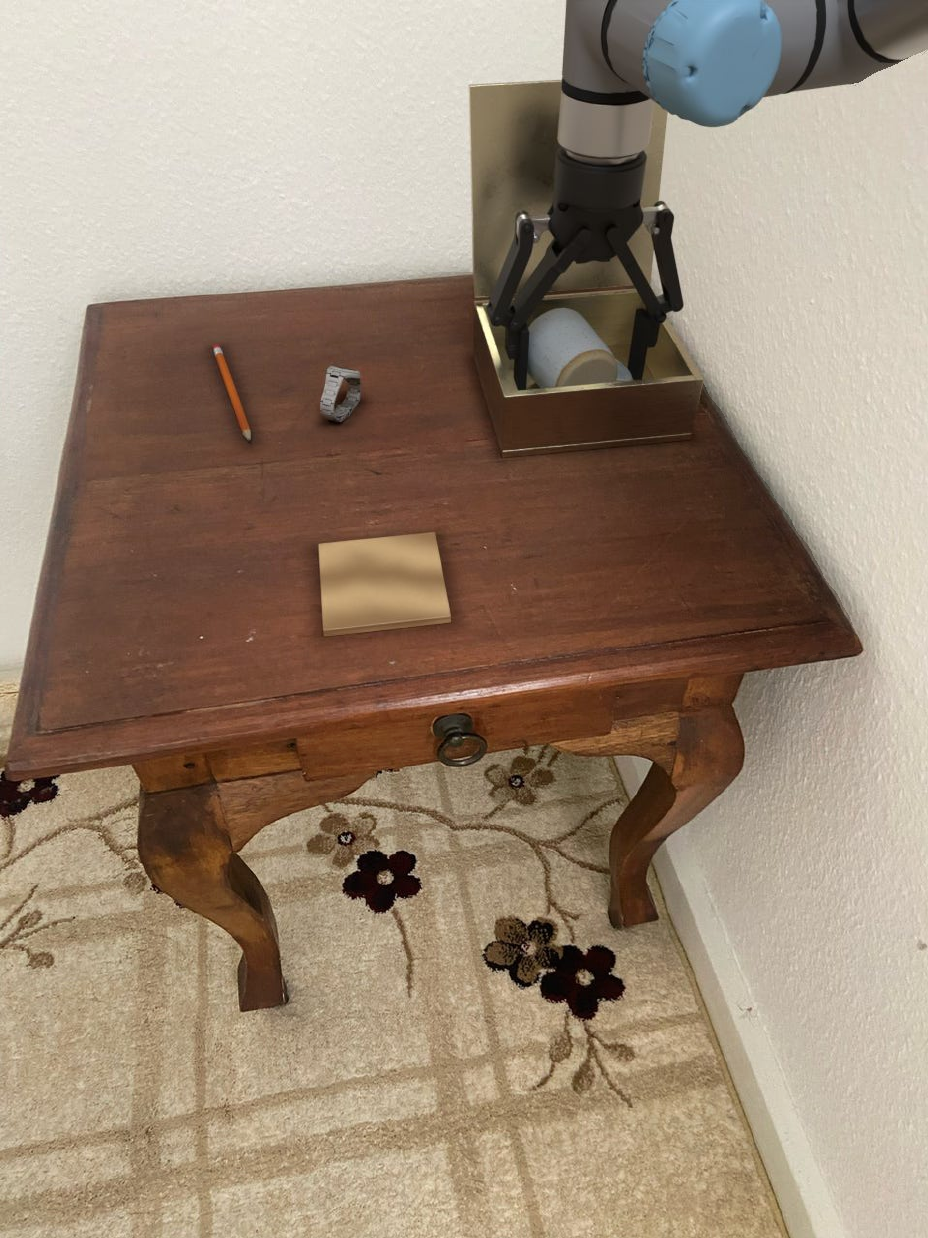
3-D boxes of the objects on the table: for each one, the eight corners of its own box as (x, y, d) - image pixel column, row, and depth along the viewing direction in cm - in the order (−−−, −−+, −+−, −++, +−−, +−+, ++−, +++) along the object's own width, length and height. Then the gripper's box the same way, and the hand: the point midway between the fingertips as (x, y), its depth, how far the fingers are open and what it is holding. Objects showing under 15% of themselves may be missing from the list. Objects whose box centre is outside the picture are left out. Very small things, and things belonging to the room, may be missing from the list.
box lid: (671, 74, 79) (653, 68, 83) (469, 85, 78) (461, 78, 82) (650, 284, 91) (636, 269, 95) (474, 297, 89) (467, 282, 93)
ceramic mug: (553, 425, 85) (560, 354, 79) (515, 382, 90) (520, 313, 84) (645, 401, 88) (659, 331, 82) (604, 361, 93) (614, 292, 87)
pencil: (221, 350, 96) (219, 343, 96) (256, 446, 85) (254, 438, 84) (213, 351, 96) (211, 344, 96) (247, 448, 84) (245, 440, 84)
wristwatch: (370, 400, 90) (366, 356, 86) (343, 433, 86) (337, 389, 82) (340, 393, 90) (335, 349, 87) (311, 425, 87) (304, 381, 83)
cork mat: (451, 622, 69) (451, 616, 68) (324, 637, 68) (322, 630, 67) (435, 538, 75) (435, 531, 75) (319, 550, 74) (318, 543, 74)
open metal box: (690, 440, 85) (704, 378, 80) (502, 458, 83) (504, 396, 78) (639, 345, 96) (648, 287, 91) (473, 359, 95) (473, 300, 90)
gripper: (723, 123, 76) (678, 350, 92) (454, 139, 73) (456, 369, 89) (755, 155, 71) (701, 390, 87) (467, 174, 68) (467, 411, 84)
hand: (577, 379), depth 88 cm, fingers closed on ceramic mug, 11 cm apart
